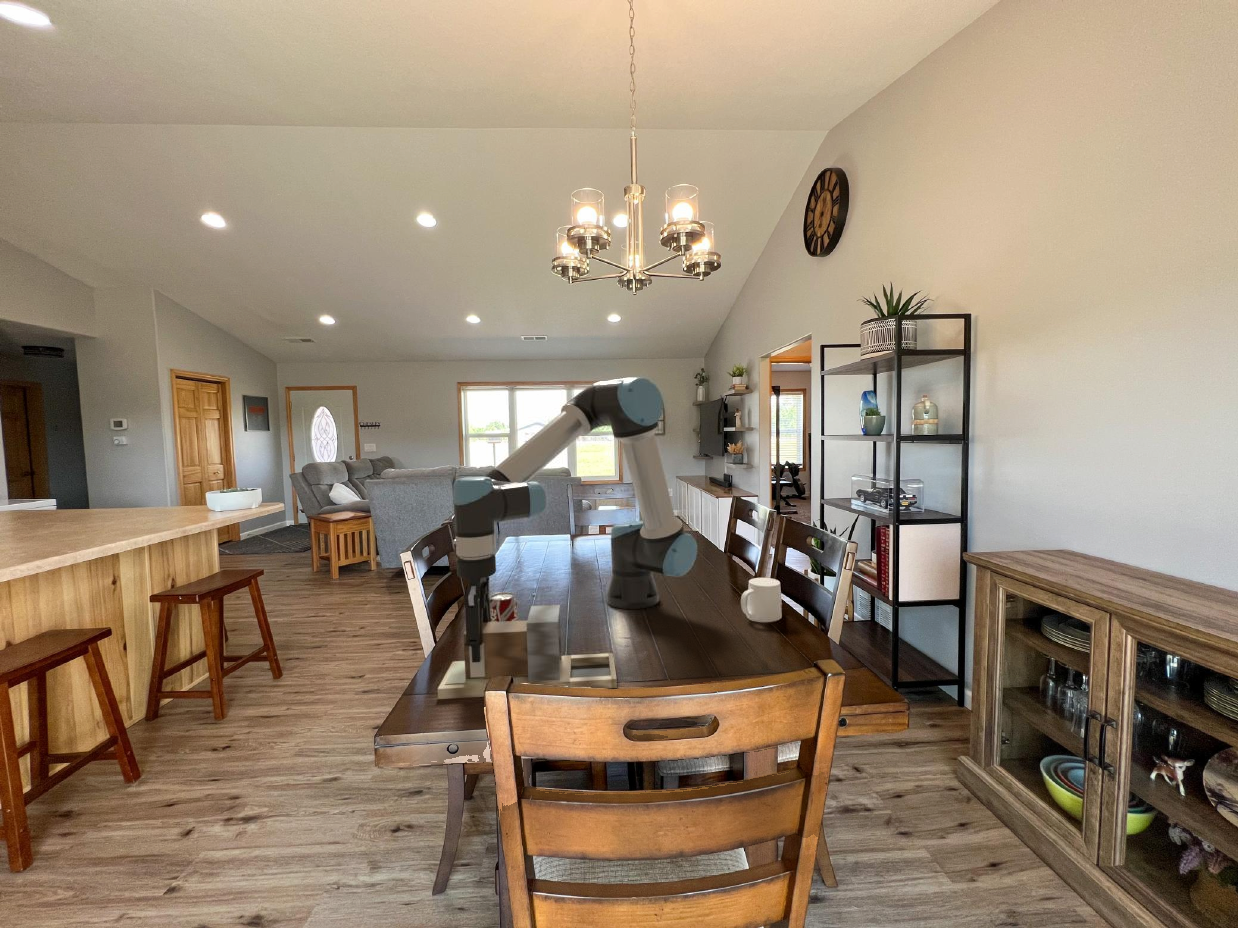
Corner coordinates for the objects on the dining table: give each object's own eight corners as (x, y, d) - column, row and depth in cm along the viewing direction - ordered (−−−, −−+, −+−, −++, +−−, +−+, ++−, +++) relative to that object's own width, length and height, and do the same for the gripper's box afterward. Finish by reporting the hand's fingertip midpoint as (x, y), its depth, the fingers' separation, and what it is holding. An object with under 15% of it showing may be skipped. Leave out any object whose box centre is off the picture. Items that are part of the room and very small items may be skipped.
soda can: (491, 640, 130) (489, 591, 129) (520, 639, 130) (518, 590, 129) (487, 652, 123) (485, 601, 122) (517, 650, 124) (515, 599, 123)
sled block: (549, 661, 112) (548, 619, 112) (547, 674, 106) (546, 630, 106) (471, 665, 111) (469, 623, 111) (465, 679, 105) (463, 634, 105)
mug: (768, 575, 146) (789, 582, 139) (768, 609, 147) (789, 618, 140) (732, 582, 141) (752, 590, 134) (732, 616, 142) (752, 626, 135)
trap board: (613, 661, 116) (611, 600, 115) (616, 688, 104) (615, 620, 103) (453, 670, 114) (450, 608, 113) (438, 698, 102) (434, 629, 101)
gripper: (466, 545, 116) (471, 649, 118) (444, 568, 97) (450, 692, 99) (502, 543, 116) (506, 647, 118) (486, 566, 97) (492, 690, 99)
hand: (481, 668), depth 108 cm, fingers closed on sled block, 6 cm apart
